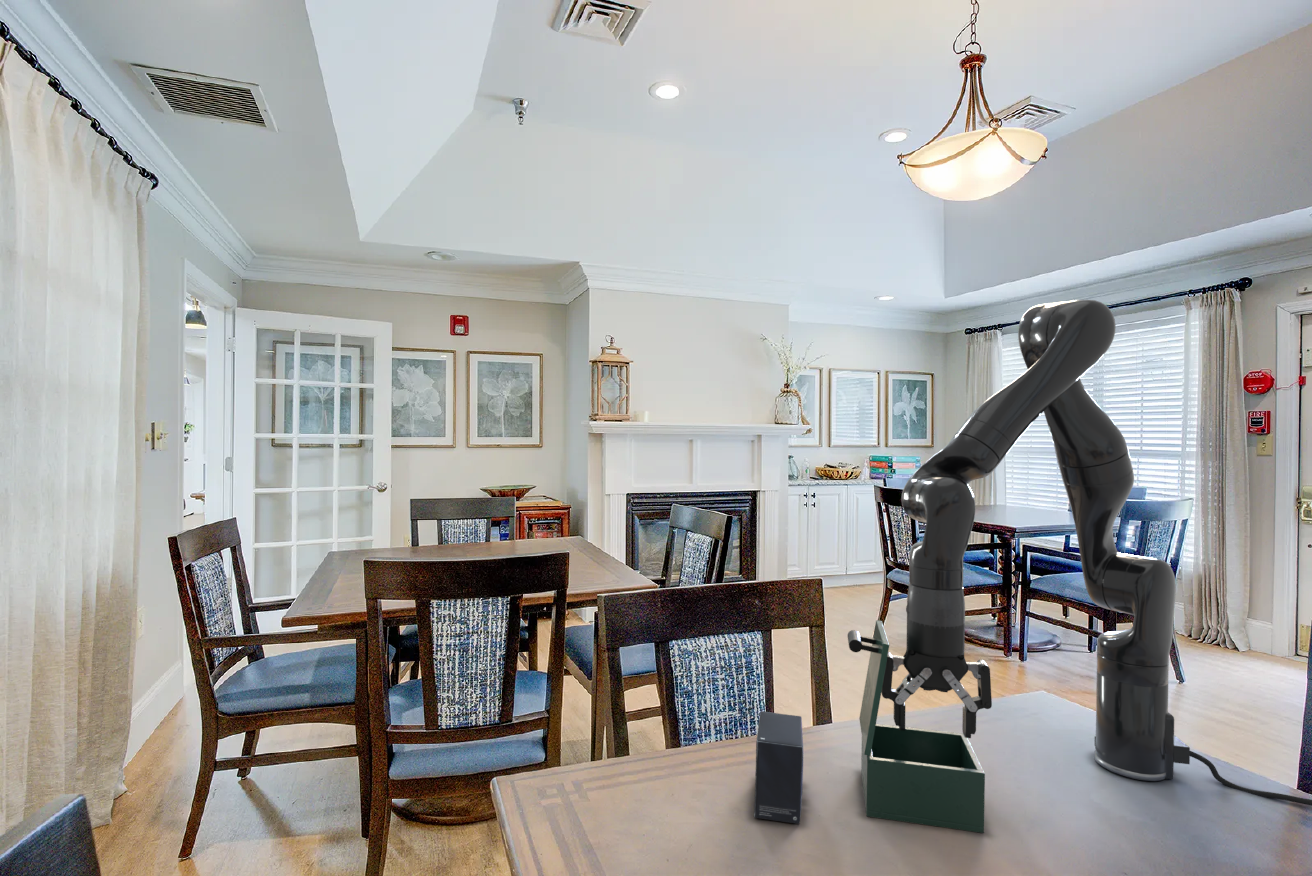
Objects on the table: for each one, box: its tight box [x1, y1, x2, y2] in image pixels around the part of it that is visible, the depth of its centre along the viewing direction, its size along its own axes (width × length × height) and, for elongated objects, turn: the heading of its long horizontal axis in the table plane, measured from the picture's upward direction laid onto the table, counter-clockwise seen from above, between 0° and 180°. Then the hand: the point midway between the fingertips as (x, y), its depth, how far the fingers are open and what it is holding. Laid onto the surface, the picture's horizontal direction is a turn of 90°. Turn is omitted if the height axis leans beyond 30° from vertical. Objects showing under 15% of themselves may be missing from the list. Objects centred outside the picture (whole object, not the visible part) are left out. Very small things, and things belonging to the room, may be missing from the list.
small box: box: [753, 710, 804, 825], centre depth 94 cm, size 11×6×10 cm, turn 168°
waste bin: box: [860, 723, 986, 834], centre depth 94 cm, size 15×12×8 cm
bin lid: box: [847, 619, 890, 756], centre depth 96 cm, size 15×12×5 cm
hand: (934, 732), depth 94 cm, fingers open, 8 cm apart
